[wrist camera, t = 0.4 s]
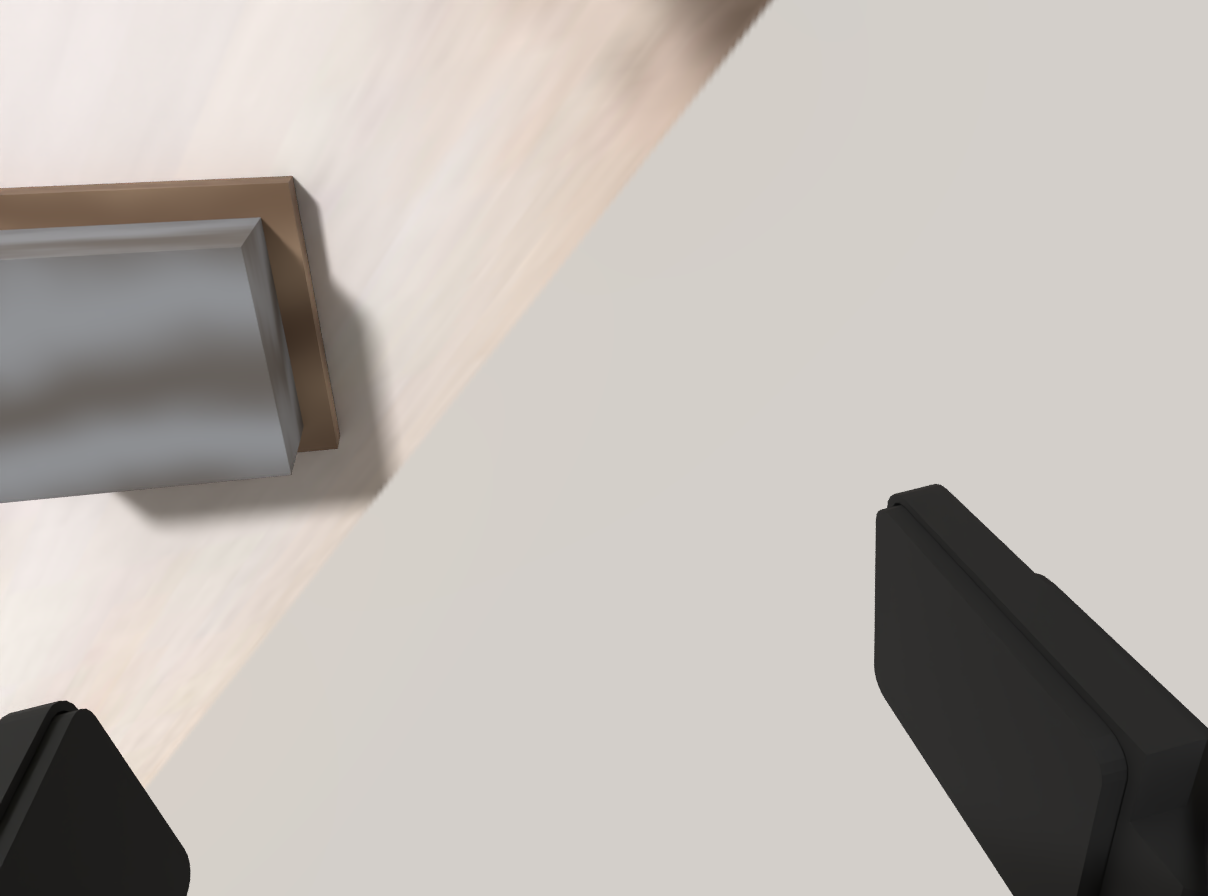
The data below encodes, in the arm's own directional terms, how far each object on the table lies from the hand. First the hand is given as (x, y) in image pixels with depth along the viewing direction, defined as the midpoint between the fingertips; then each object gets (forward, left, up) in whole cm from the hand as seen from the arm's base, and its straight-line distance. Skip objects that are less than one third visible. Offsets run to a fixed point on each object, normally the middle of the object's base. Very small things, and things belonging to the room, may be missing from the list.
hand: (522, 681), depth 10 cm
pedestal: (+8, -15, -35) cm, 39 cm away
